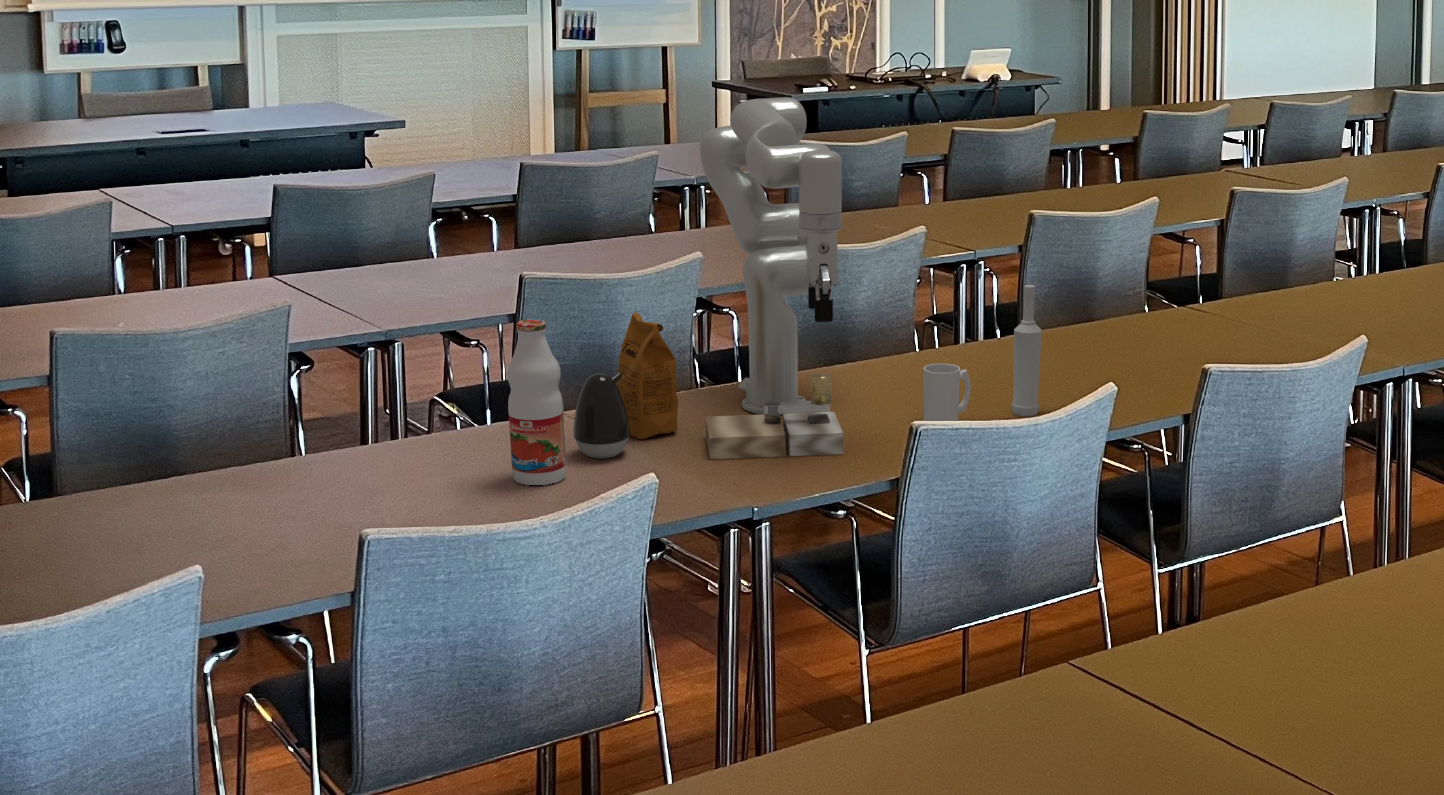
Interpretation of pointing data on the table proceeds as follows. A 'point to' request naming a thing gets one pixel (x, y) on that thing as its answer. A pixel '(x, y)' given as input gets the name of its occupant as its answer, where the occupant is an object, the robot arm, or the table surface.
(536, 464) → the fruit juice
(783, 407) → the bar
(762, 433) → the stone-look twin blocks
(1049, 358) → the table surface
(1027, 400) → the bottle
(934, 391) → the mug
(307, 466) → the table surface
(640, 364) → the coffee package
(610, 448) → the pump dispenser
